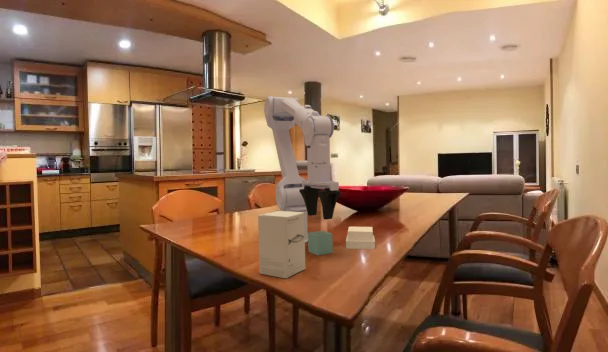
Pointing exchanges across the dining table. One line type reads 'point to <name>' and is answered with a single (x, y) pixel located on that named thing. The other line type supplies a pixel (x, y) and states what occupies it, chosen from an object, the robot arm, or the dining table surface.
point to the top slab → (360, 234)
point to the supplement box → (281, 243)
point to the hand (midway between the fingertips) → (319, 217)
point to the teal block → (320, 242)
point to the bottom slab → (360, 244)
